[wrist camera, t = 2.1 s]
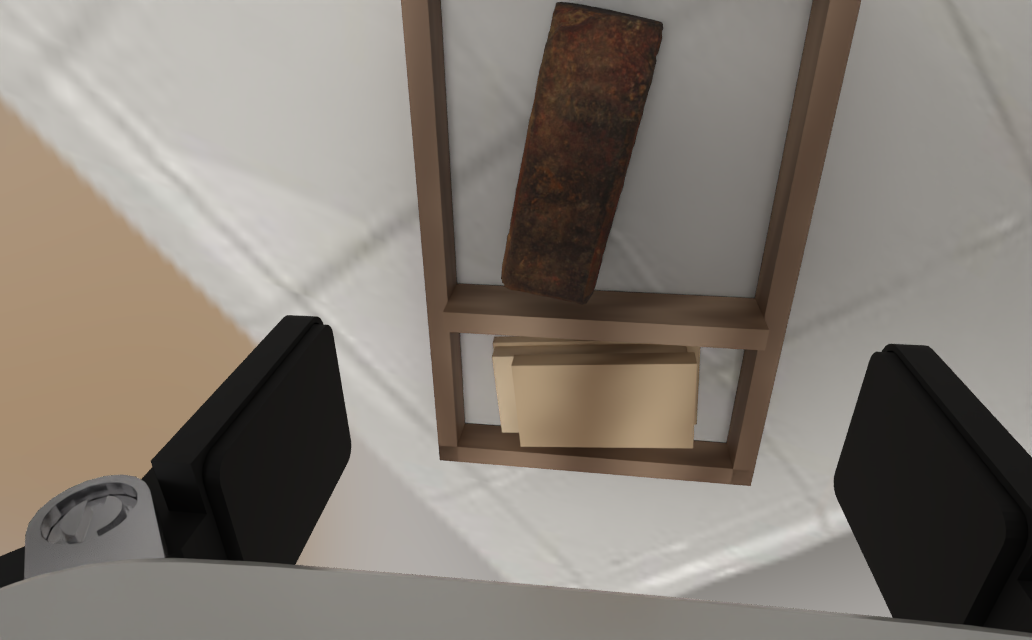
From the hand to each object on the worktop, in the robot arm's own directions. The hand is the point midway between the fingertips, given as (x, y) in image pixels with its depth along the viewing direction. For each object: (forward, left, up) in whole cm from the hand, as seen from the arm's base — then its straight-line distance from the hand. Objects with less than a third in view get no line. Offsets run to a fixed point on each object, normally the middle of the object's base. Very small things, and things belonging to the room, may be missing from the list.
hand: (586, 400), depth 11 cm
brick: (+1, 0, -18) cm, 18 cm away
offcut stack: (0, +11, -18) cm, 22 cm away
